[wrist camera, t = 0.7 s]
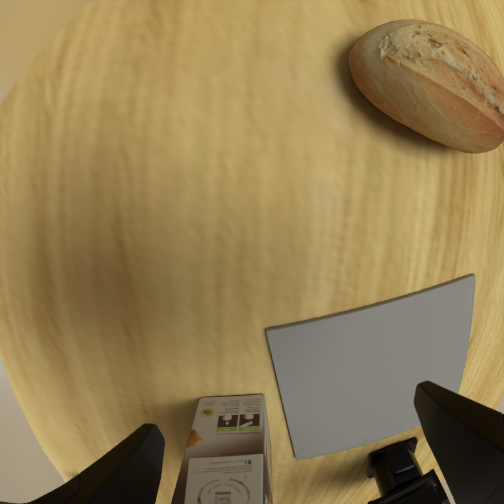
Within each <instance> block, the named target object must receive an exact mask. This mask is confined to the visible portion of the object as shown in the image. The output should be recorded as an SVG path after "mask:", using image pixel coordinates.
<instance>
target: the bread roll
mask: <svg viewBox="0 0 504 504" xmlns="http://www.w3.org/2000/svg"><path fill="white" fill-rule="evenodd" d="M348 58H349V61H348V63H349V68H350V70H351V74H352V77H353V79H354V82H355V84H356V86H357V87H358V88H359V90H360V91H361V92H362V93H363V94H364V96H365V97H366V98H367V99H368V100H369V101H370V102H371V103H372V104H373V105H374V106H376V107H377V108H378V109H380V110H381V111H383V112H384V113H385V114H387V115H388V116H390V117H391V118H393V119H394V120H396V121H397V122H399V123H401V124H403V125H405V126H407V127H409V128H411V129H413V130H414V131H416V132H418V133H420V134H422V135H424V136H426V137H428V138H430V139H432V140H434V141H436V142H439V143H441V144H443V145H445V146H448V147H450V148H453V149H455V150H458V151H461V152H465V153H483V152H488V151H491V150H493V149H495V148H497V147H498V146H499V145H500V144H501V143H502V142H503V141H504V78H503V76H502V74H501V72H500V70H499V68H498V67H497V66H496V64H495V63H494V62H493V61H492V60H491V59H490V57H489V56H488V55H487V54H486V53H485V52H484V51H482V50H481V49H480V48H479V47H478V46H477V45H475V44H474V43H473V42H472V41H470V40H469V39H467V38H466V37H464V36H463V35H461V34H459V33H457V32H455V31H454V30H452V29H450V28H447V27H444V26H441V25H438V24H435V23H431V22H426V21H421V20H413V19H412V20H398V21H391V22H388V23H385V24H382V25H380V26H377V27H375V28H374V29H372V30H370V31H368V32H367V33H365V34H364V35H363V36H361V37H360V38H358V40H357V42H356V43H355V45H354V46H353V48H352V49H351V51H350V54H349V57H348Z"/></svg>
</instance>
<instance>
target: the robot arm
mask: <svg viewBox="0 0 504 504" xmlns="http://www.w3.org/2000/svg"><path fill="white" fill-rule="evenodd" d="M414 407H415V410H416V412H417V415H418V418H419V421H420V423H421V426H422V429H423V432H424V435H425V437H426V440H427V442H428V444H429V446H430V448H431V450H432V452H433V454H434V457H435V459H436V461H437V463H438V465H439V467H440V469H441V471H442V474H443V476H444V478H445V480H446V482H447V485H448V487H449V489H450V491H451V494H452V496H453V498H454V500H455V503H456V504H504V414H502V413H501V412H498V411H496V410H494V409H491V408H489V407H487V406H484V405H482V404H480V403H477V402H475V401H473V400H471V399H468V398H466V397H464V396H462V395H459V394H457V393H455V392H453V391H451V390H448V389H446V388H444V387H442V386H440V385H438V384H435V383H433V382H431V381H429V380H426V381H423V382H421V383H418V384H417V386H416V390H415V396H414ZM417 442H418V440H417V438H412V439H410V440H407V441H405V442H402V443H399V444H396V445H394V446H391V447H388V448H385V449H382V450H379V451H376V452H373V453H371V454H370V455H369V463H368V471H367V477H368V478H372V477H375V480H376V483H377V486H378V489H379V492H380V495H381V497H380V498H378V499H376V500H373V501H369V502H368V504H450V502H449V499H448V497H447V495H446V493H445V491H444V489H443V487H442V485H441V483H440V481H439V479H438V477H437V475H436V473H435V471H434V469H432V470H430V472H428V473H426V474H425V475H424V474H423V472H422V470H421V468H420V466H419V464H418V462H417V460H416V457H415V455H414V452H415V449H416V445H417ZM164 447H165V440H164V437H163V436H162V434H161V432H160V430H159V429H158V427H157V425H156V424H152V423H145V424H143V425H142V426H140V427H139V428H138V429H137V430H135V431H134V432H133V433H132V434H130V435H129V436H128V437H127V438H125V439H124V440H123V441H122V442H120V443H119V444H118V445H117V446H115V447H114V448H113V449H111V450H110V451H109V452H108V453H106V454H105V455H104V456H102V457H101V458H100V459H98V460H97V461H96V462H94V463H93V464H92V465H90V466H89V467H88V468H86V469H85V470H84V471H82V472H81V473H80V474H78V475H77V476H75V477H74V478H72V479H71V480H69V481H68V482H66V483H65V484H63V485H62V486H60V487H58V488H57V489H55V490H53V491H51V492H49V493H47V494H46V495H44V496H42V497H40V498H38V499H36V500H34V501H31V502H28V503H22V504H155V502H156V497H157V493H158V489H159V484H160V480H161V474H162V465H163V456H164ZM435 485H436V486H435ZM0 504H16V503H8V502H1V501H0ZM17 504H18V503H17Z"/></svg>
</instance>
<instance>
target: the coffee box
mask: <svg viewBox="0 0 504 504" xmlns="http://www.w3.org/2000/svg"><path fill="white" fill-rule="evenodd" d="M171 504H272V461H271V440H270V433H269V426H268V419H267V412H266V405H265V398H264V395H262V394H259V395H245V396H229V397H203V398H201V399H200V400H199V404H198V407H197V410H196V414H195V417H194V421H193V425H192V428H191V432H190V436H189V440H188V443H187V446H186V450H185V454H184V457H183V461H182V465H181V469H180V472H179V476H178V480H177V484H176V487H175V491H174V495H173V499H172V502H171Z"/></svg>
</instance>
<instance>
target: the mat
mask: <svg viewBox="0 0 504 504" xmlns="http://www.w3.org/2000/svg"><path fill="white" fill-rule="evenodd" d="M474 291H475V275H474V274H469V275H467V276H464V277H461V278H458V279H455V280H452V281H449V282H446V283H443V284H440V285H437V286H434V287H431V288H428V289H425V290H421V291H418V292H415V293H411V294H408V295H405V296H401V297H398V298H394V299H391V300H387V301H384V302H380V303H376V304H373V305H369V306H365V307H361V308H357V309H353V310H349V311H345V312H341V313H337V314H333V315H328V316H324V317H320V318H315V319H310V320H306V321H301V322H296V323H292V324H287V325H282V326H276V327H271V328H266V333H267V337H268V341H269V346H270V350H271V354H272V359H273V363H274V367H275V372H276V376H277V380H278V384H279V389H280V393H281V397H282V402H283V406H284V410H285V414H286V419H287V423H288V427H289V432H290V436H291V440H292V444H293V449H294V453H295V457H296V460H301V459H307V458H312V457H317V456H322V455H327V454H331V453H336V452H340V451H344V450H348V449H352V448H355V447H359V446H363V445H366V444H369V443H373V442H376V441H379V440H382V439H385V438H388V437H391V436H394V435H397V434H400V433H402V432H405V431H408V430H410V429H413V428H415V427H418V426H420V425H421V423H420V421H419V418H418V415H417V412H416V410H415V407H414V396H415V390H416V386H417V384H418V383H421V382H423V381H426V380H429V381H431V382H433V383H435V384H438V385H440V386H442V387H444V388H446V389H448V390H451V391H453V392H455V393H457V394H458V392H459V388H460V384H461V379H462V375H463V370H464V366H465V361H466V355H467V350H468V344H469V338H470V331H471V323H472V314H473V304H474Z"/></svg>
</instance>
